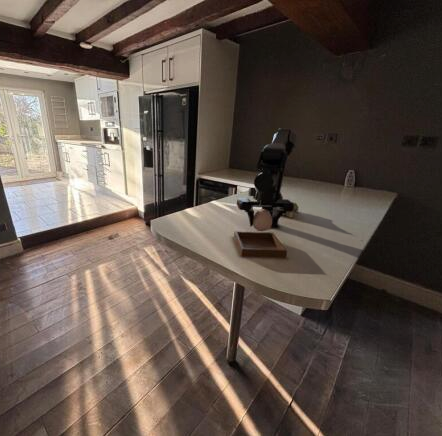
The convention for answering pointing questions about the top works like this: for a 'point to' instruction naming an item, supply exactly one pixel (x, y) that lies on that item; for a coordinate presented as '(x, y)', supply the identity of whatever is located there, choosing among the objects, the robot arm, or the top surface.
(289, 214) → the fossil
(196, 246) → the top surface
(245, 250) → the tray
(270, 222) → the egg
